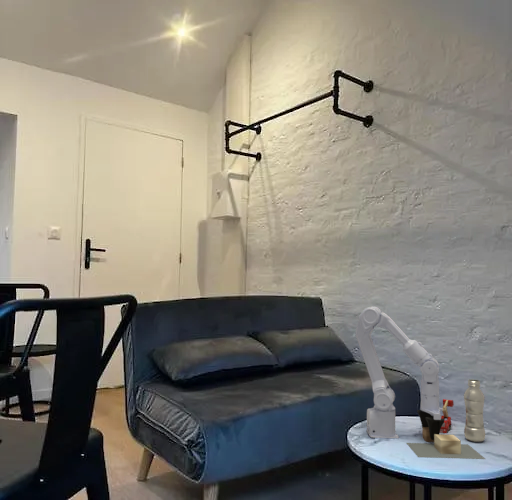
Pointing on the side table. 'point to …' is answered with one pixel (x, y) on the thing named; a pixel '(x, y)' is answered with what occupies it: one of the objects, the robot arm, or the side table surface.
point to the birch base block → (447, 444)
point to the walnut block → (426, 434)
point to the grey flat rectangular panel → (431, 452)
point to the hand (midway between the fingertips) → (430, 436)
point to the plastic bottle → (474, 412)
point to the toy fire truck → (446, 416)
